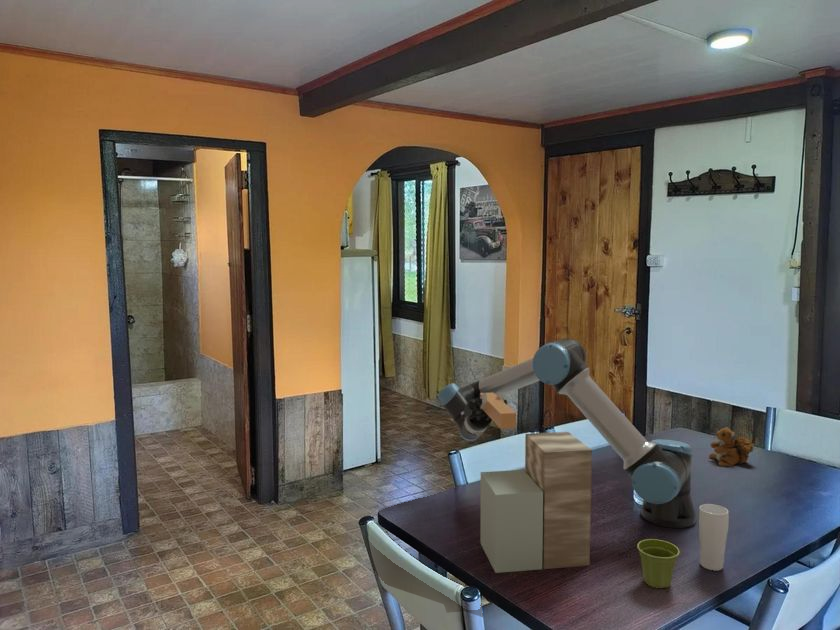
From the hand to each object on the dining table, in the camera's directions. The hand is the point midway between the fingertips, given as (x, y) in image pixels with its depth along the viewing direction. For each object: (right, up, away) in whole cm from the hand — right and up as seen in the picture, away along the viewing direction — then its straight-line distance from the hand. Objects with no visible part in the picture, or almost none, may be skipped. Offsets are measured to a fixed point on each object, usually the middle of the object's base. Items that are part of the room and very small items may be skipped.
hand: (493, 397), depth 175 cm
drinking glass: (+53, -40, -18) cm, 69 cm away
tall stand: (+15, -40, -10) cm, 44 cm away
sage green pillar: (+3, -40, -11) cm, 42 cm away
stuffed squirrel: (+95, -32, +59) cm, 117 cm away
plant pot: (+36, -41, -25) cm, 60 cm away
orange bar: (0, -5, -3) cm, 6 cm away
